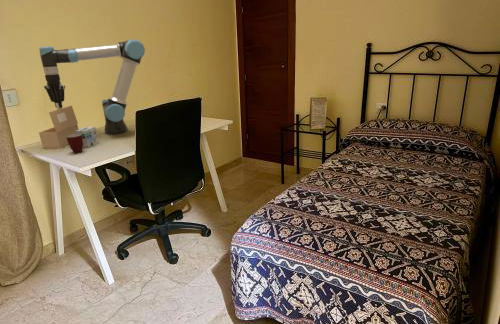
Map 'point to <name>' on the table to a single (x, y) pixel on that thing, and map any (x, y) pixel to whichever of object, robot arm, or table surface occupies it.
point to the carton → (56, 137)
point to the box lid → (63, 118)
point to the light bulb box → (88, 136)
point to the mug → (75, 142)
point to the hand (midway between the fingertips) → (60, 113)
